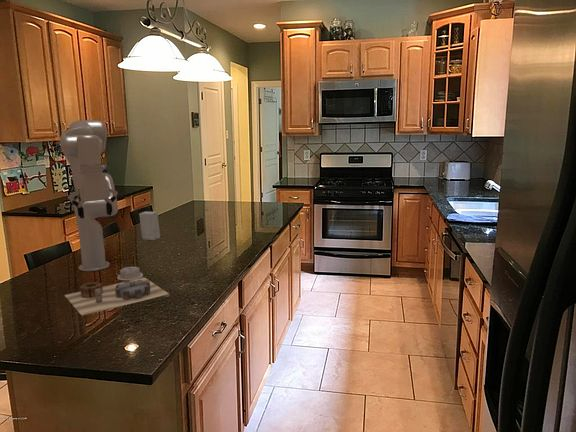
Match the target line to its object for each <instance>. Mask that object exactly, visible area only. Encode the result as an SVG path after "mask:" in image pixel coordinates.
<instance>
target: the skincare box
mask: <svg viewBox="0 0 576 432" xmlns="http://www.w3.org/2000/svg"><path fill="white" fill-rule="evenodd" d="M138 215H139V222H140V229H141V230H140V231H141V232H140V233H141V238H142V239H141V240H145V241H146V240H148V241H149V240H150V241H155V240H159V239H161V232H160V225H159V224H160V223H159V216H158V211H147V210H146V211H142V212H140V213H139V214H138Z"/></svg>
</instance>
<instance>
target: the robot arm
mask: <svg viewBox="0 0 576 432" xmlns="http://www.w3.org/2000/svg"><path fill="white" fill-rule="evenodd" d="M60 134H61V135H60V140H59V143H60V148H61V152H62V153H63V154H64V157H65V159H66V160H67V162H68V164H69V166H70V168H71V173H72V179H73V180H72V181H73V186H74V189H75V190H74V192H71V193H70V194H69V195H68V196H67V198H68V200H69V201H70V203H72V205H73V210H74V215H75V219H76V222H77V229H78V239H79V246H80V255H81V258H80V259H81V264H80V265H78V270H79V271H81V272H96V271H102V270H105V269H107V268H109V267H110V264H111V263H110V262H109V261H107V260H106V251H105V241H104V232H103V231H104V230H103V227H102V224H100V222H99V221H97V220H96V219H98V218H106V217H114V216H115V215H117V214H118V211H119V205H118V199H117V196H118V193H119V191H117V190H116V189H115V188H116V187H115V184H114V180H113V177H112V175H111V174H110V173H107V172H103V171H104V170H107V166H106V165H103V163H102V154H101V153H104V152H105V151H106V147H107V145H106V144H107V137H108V132H107V127H106V125H105V123H104V122H103V121H102V120H97V119H95V120H94V119H93V120H91V119H90V120H89V119H88V120H87V119H84V120H83V119H82V120H75V121H73V122H71V123H70V125H69V127H68V130H65V131H63V132H62V133H60ZM76 196H77V198H75V197H76Z"/></svg>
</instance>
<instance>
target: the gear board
mask: <svg viewBox="0 0 576 432" xmlns="http://www.w3.org/2000/svg"><path fill="white" fill-rule="evenodd" d="M102 290H103V294H102V293H101V288H98V289H95V296H96V297H93V298H91V297H90V298H84V297H83V298H82V296H81V292H80V291H76V292H72V293H68V294H64V297H65V298H66V299H67V301H68V302H69V303H70V304H71V305H72V306H73V307H74V308H75V310H76V311H77V312H78V313H79V315H81V317H82V318H81V319H86V318H87V319H88V318H89V317H93V316H98V315H102V314H105V313H110V312H114V311H117V310H118V311H119V308H120V307H121V308H120V310H121V309H123V306H124V309H125V308H127V305H129V306H128V308H129V307H131V305H132V304H134V305H132V307H134V306H135V304H136V306H137V305H139V303H140V305H142V304H143V301H144V304H147V300H150V301H148V303H150V302H151V300H152V299H153V300H152V302H154V301H155V298H157V299H156V301H158V300H159V297H160V300H162V299H163V297H164V299H165V298H169V297H170V296H171V295H170V293H169V292H167V291H166V290H165V289H163V288H161V287H160V286H158V285H157V284H155V283H154V282H152V281H151V280H149V279H148V278H147V277H143V278H138V279H135V280H127V281H122V282H118V283H113V284H108V285H104V286H103V285H102ZM162 296H163V297H162ZM161 297H162V298H161ZM116 308H117V309H116ZM111 309H112V310H111ZM113 309H114V310H113ZM107 310H109V311H107ZM103 311H106V312H103ZM99 312H100V313H99ZM95 313H97V314H95ZM90 314H95V315H90ZM86 315H90V316H86ZM83 316H86V317H83Z"/></svg>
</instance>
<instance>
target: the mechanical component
mask: <svg viewBox="0 0 576 432" xmlns="http://www.w3.org/2000/svg"><path fill="white" fill-rule="evenodd" d="M140 278H144V274H143V273H142V272H141V271H140V267H138V266H126V267H123V268H122V269H119V275H118V276H117V280H119V281H124V282H126V281H131V280H136V279H140Z"/></svg>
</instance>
